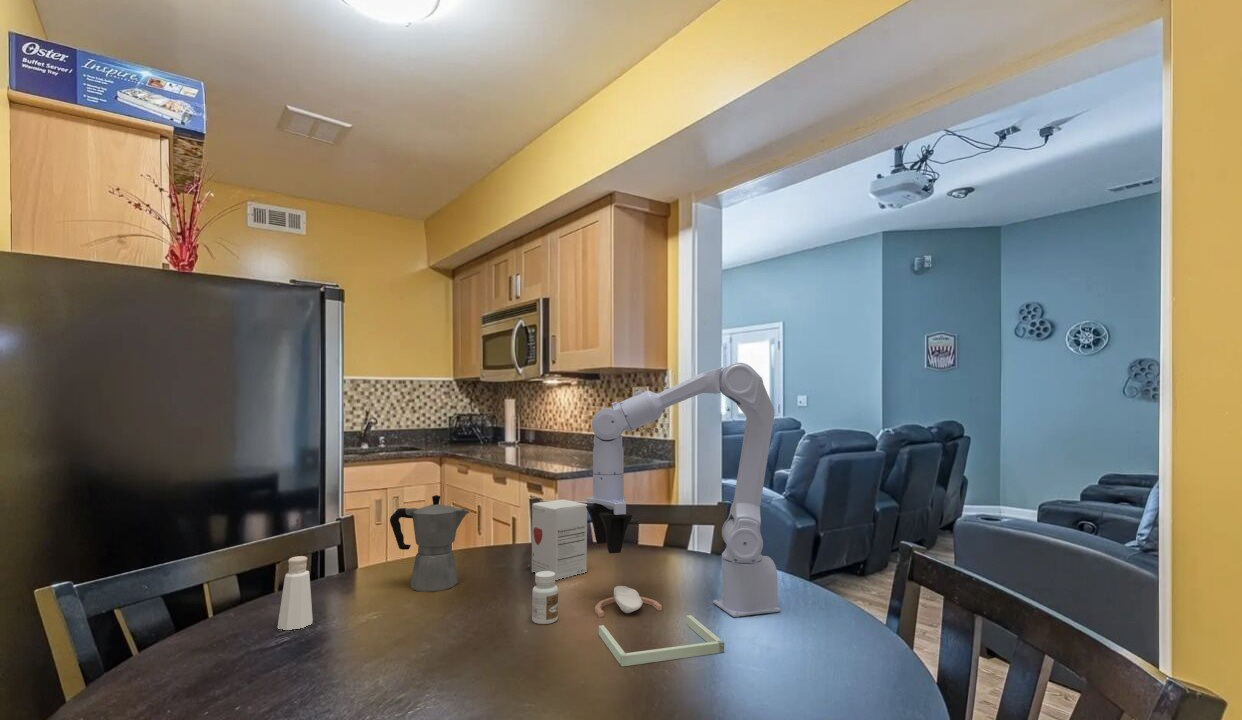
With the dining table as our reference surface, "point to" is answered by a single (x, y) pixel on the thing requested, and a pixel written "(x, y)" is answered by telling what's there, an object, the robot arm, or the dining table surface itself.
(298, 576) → the pepper shaker
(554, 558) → the supplement box
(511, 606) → the dining table surface
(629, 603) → the dumpling
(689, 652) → the pale green u-frame
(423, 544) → the coffeepot
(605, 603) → the segmented c-shaped arc
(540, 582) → the pill bottle
